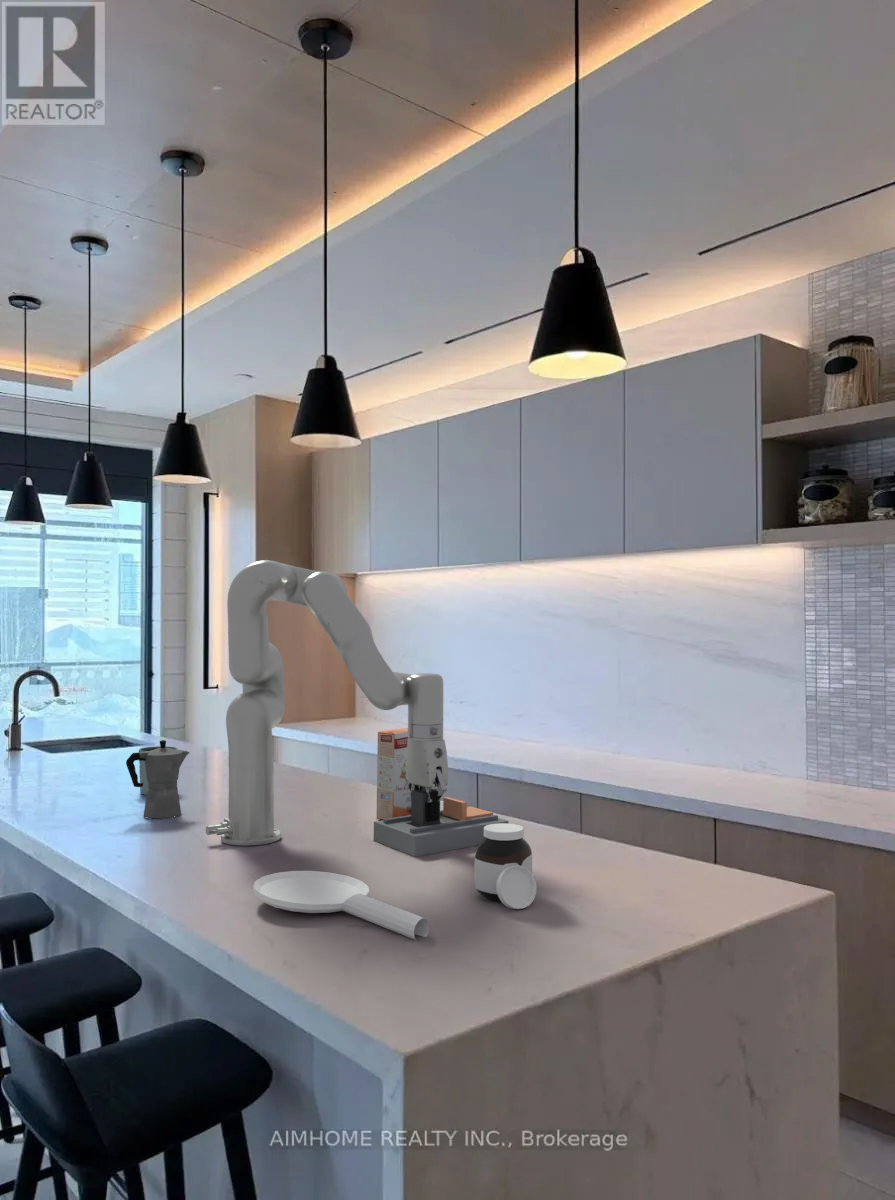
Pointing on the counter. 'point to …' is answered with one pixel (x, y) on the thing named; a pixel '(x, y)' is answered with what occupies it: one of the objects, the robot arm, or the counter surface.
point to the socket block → (432, 834)
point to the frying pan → (335, 899)
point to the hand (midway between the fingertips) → (425, 817)
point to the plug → (420, 808)
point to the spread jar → (505, 866)
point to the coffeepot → (159, 780)
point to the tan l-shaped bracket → (461, 810)
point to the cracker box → (392, 775)
